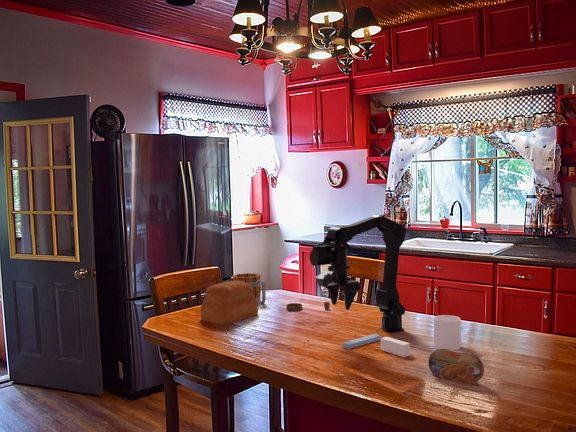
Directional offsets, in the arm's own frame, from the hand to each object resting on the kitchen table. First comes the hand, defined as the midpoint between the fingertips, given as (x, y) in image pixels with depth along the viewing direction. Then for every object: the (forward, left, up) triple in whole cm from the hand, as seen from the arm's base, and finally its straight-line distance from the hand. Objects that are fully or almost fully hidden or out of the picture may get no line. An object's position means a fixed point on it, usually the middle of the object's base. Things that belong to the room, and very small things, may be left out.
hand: (340, 307), depth 181 cm
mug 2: (-32, +18, -13) cm, 39 cm away
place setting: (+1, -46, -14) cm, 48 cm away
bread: (+33, -46, -13) cm, 58 cm away
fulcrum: (-11, +19, -13) cm, 25 cm away
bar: (-5, +6, -13) cm, 16 cm away
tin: (-17, +44, -13) cm, 49 cm away
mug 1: (+19, -70, -13) cm, 74 cm away
